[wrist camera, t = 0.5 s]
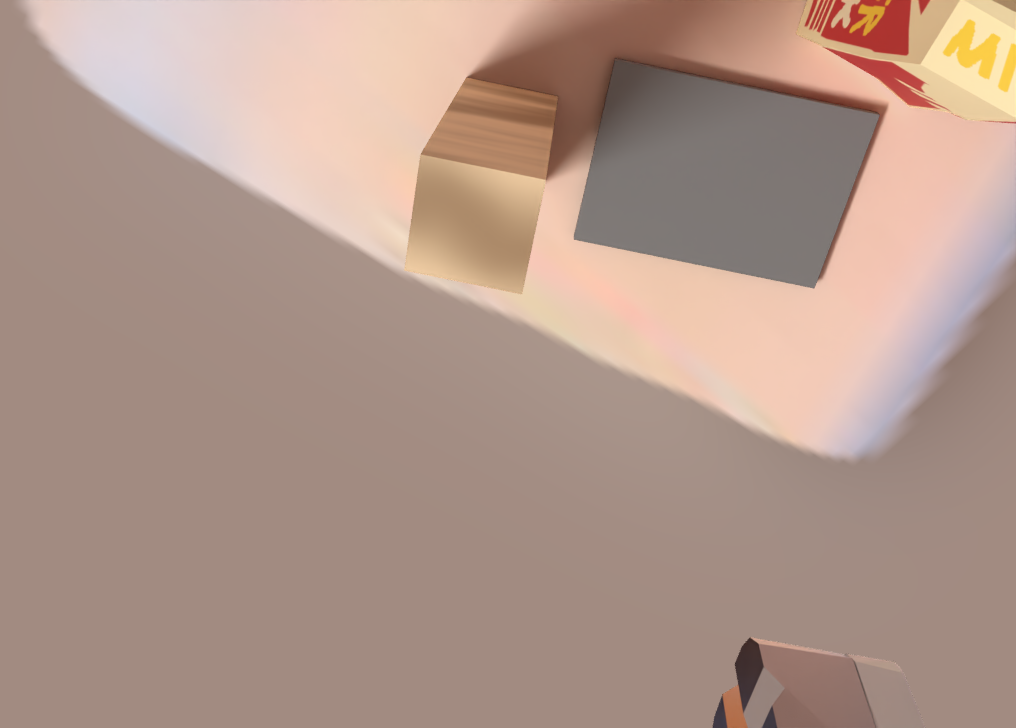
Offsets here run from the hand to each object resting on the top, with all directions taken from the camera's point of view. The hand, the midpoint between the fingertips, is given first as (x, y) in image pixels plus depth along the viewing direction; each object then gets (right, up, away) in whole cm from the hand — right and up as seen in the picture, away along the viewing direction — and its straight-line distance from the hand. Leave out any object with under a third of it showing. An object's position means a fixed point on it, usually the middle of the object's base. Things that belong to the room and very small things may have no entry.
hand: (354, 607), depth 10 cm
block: (+1, +15, +41) cm, 44 cm away
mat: (+13, +13, +41) cm, 45 cm away
